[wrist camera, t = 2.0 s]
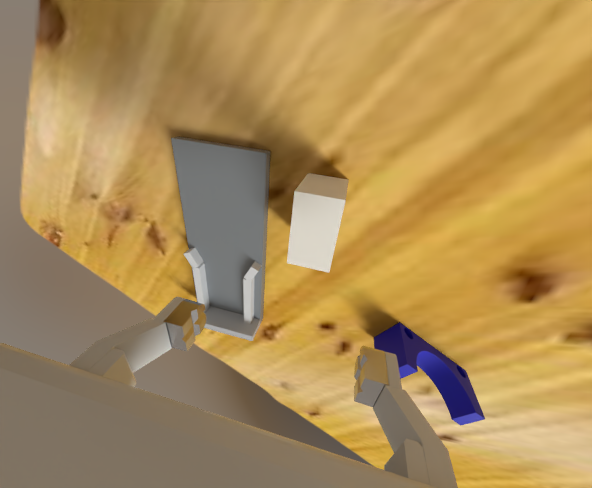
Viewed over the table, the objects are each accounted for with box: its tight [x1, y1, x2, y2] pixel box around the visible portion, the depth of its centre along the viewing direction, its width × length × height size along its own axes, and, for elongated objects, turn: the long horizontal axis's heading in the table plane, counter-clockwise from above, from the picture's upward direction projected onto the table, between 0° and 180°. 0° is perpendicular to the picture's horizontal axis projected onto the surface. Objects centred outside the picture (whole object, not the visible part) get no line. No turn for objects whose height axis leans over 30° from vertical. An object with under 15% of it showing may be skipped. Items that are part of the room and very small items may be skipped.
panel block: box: [287, 173, 348, 272], centre depth 23 cm, size 7×4×6 cm, turn 174°
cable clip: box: [374, 322, 485, 425], centre depth 30 cm, size 12×4×6 cm, turn 55°
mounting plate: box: [171, 137, 270, 341], centre depth 28 cm, size 24×10×4 cm, turn 174°
